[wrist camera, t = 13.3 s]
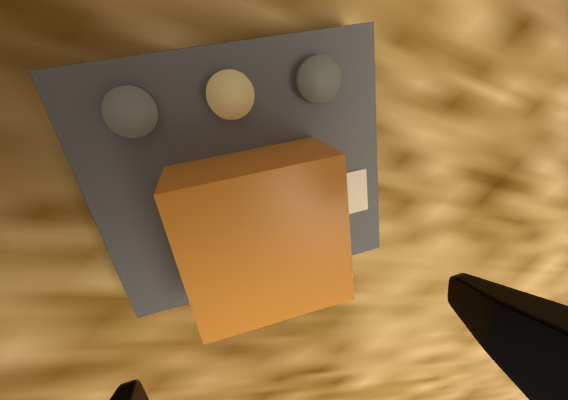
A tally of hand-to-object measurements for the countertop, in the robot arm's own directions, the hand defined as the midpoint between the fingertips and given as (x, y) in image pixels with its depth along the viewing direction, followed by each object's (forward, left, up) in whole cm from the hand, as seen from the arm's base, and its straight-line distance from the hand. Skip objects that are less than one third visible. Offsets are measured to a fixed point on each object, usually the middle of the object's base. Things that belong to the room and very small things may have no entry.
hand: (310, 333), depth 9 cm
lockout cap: (0, 0, -8) cm, 8 cm away
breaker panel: (0, +2, -11) cm, 11 cm away
